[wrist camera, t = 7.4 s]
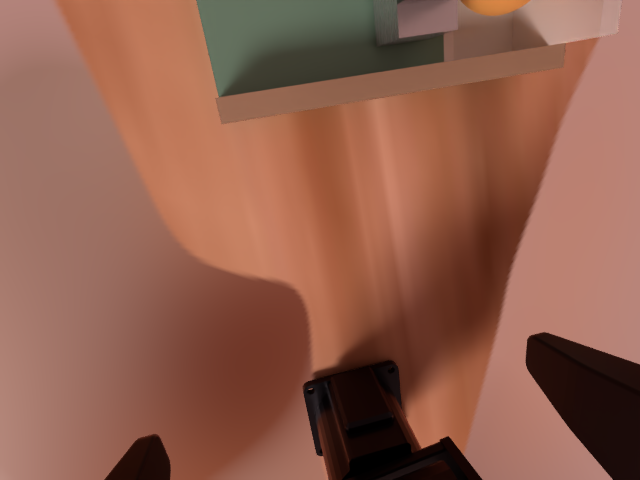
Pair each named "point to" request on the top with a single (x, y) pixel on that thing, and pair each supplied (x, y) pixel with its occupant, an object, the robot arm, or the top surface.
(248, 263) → the top surface
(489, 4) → the ball
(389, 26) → the block
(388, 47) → the pitch
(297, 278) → the top surface
